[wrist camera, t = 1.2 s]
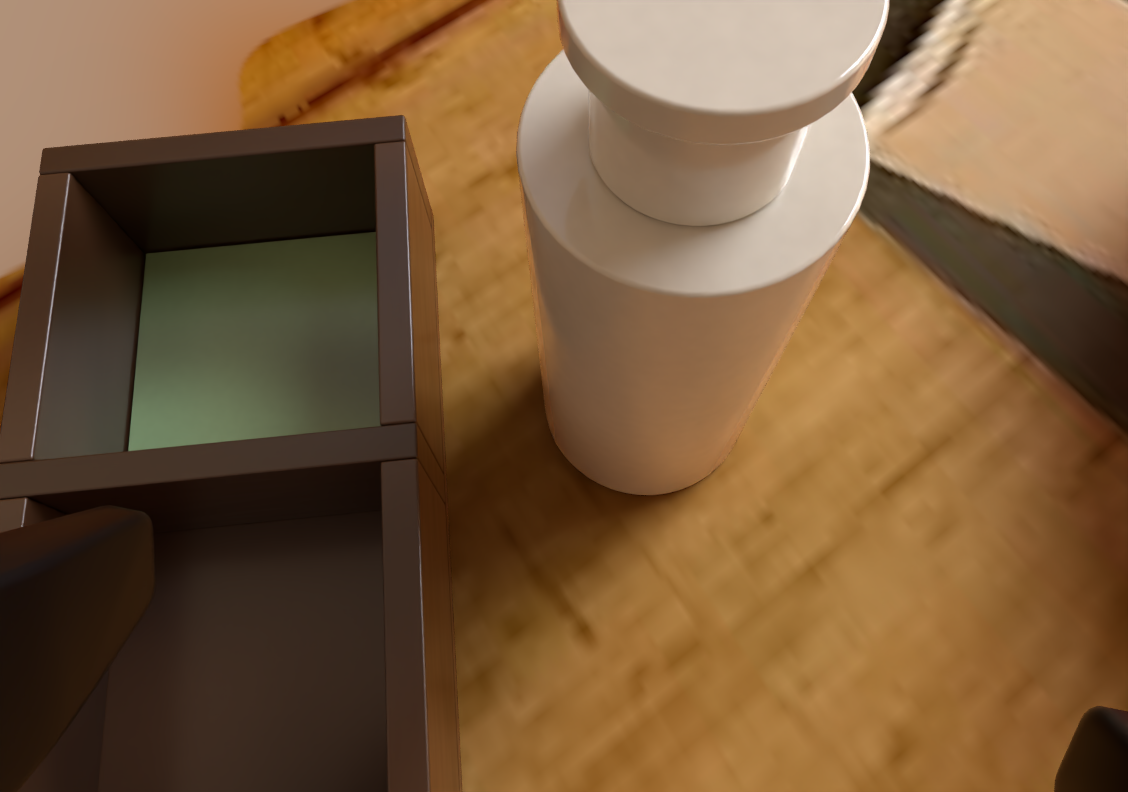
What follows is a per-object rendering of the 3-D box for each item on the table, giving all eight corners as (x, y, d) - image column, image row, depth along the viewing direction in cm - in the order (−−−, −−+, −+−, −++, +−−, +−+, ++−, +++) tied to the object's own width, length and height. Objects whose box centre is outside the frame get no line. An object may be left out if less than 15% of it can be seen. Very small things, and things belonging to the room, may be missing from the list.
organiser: (466, 863, 19) (434, 899, 15) (64, 907, 19) (-81, 955, 15) (433, 214, 26) (404, 113, 21) (130, 243, 25) (41, 147, 21)
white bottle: (637, 538, 22) (718, 255, 9) (504, 390, 24) (407, -34, 11) (785, 408, 23) (1047, -9, 10) (649, 275, 25) (724, -233, 12)
